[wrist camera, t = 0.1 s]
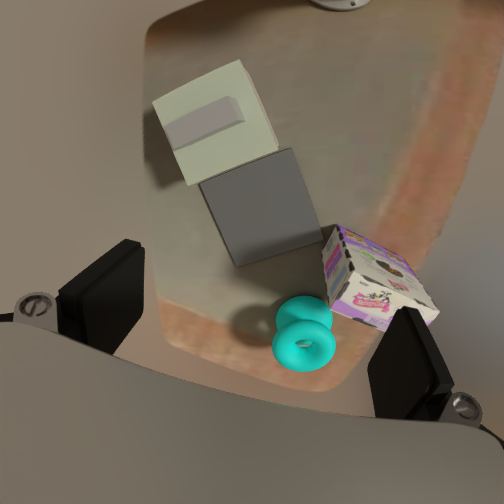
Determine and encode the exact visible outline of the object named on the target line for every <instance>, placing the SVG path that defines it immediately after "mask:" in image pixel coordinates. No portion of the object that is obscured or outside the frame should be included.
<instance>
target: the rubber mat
mask: <svg viewBox="0 0 504 504" xmlns="http://www.w3.org/2000/svg"><path fill="white" fill-rule="evenodd" d="M200 186H201V188H202V191H203V193H204V195H205V197H206V200H207V202H208V204H209V206H210V209H211V211H212V213H213V215H214V218H215V220H216V222H217V224H218V227H219V229H220V231H221V233H222V236H223V238H224V240H225V242H226V245H227V247H228V249H229V251H230V253H231V256H232V258H233V260H234V262H235V264H236V267H240V266H243V265H246V264H249V263H253V262H256V261H259V260H262V259H265V258H269V257H272V256H275V255H278V254H281V253H285V252H288V251H291V250H294V249H297V248H300V247H304V246H307V245H310V244H313V243H316V242H319V241H322V240H324V237H323V234H322V231H321V228H320V225H319V222H318V219H317V217H316V214H315V211H314V208H313V205H312V202H311V200H310V197H309V194H308V191H307V188H306V186H305V183H304V180H303V178H302V175H301V172H300V170H299V167H298V164H297V162H296V159H295V157H294V154H293V151H292V149H291V148H289V149H286V150H284V151H281V152H278V153H275V154H273V155H270V156H267V157H265V158H262V159H259V160H257V161H254V162H251V163H249V164H246V165H244V166H241V167H239V168H236V169H234V170H231V171H229V172H226V173H224V174H221V175H219V176H216V177H214V178H212V179H209V180H207V181H204V182H202V183H200Z"/></svg>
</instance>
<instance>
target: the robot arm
mask: <svg viewBox="0 0 504 504" xmlns="http://www.w3.org/2000/svg"><path fill="white" fill-rule="evenodd" d="M311 1H312V2H314V3H316V4H318V5H320V6H322V7H325V8H328V9H332V10H339V11H350V10H356V9H359V8H362V7H364V6H365V5H367V4H368V3H369V2H370V1H371V0H311ZM351 5H353V6H351ZM144 260H145V249H144V247H141V244H140V242H136V241H133V240H129V239H124V240H123V241H121V242H120V243H119V244H117V245H116V246H115V247H113V248H112V249H111V250H109V251H108V252H107V253H105V254H104V255H103V256H101V257H100V258H99V259H97V260H96V261H95V262H93V263H92V264H91V265H90V266H88V267H87V268H86V269H84V270H83V271H82V272H81V273H79V274H78V275H77V276H75V277H74V278H73V279H72V280H71V281H69V282H68V283H67V284H66V285H64V286H63V287H62V288H61V289H59V290H58V292H59V295H58V296H57V297H56V298H54V297H53V296H51V295H50V294H47V293H43V292H34V293H29V294H27V295H25V296H23V297H22V298H20V299H19V300H18V301H17V303H16V305H15V309H14V313H7V314H0V504H504V441H503V440H502V439H500V438H499V437H498V436H496V435H495V434H494V433H492V432H491V431H490V430H488V429H487V428H486V427H484V426H483V425H482V424H481V421H482V417H483V412H482V408H481V406H480V404H479V403H478V401H477V400H476V399H475V398H474V397H472V396H471V395H469V394H467V393H465V392H455V393H453V394H452V392H451V389H452V387H453V386H454V385H455V384H454V382H453V380H452V377H451V375H450V373H449V371H448V368H447V366H446V364H445V362H444V359H443V357H442V355H441V353H440V351H439V349H438V347H437V345H436V343H435V341H434V339H433V337H432V335H431V333H430V331H429V329H428V327H427V325H426V323H425V321H424V319H423V317H422V315H421V314H420V312H419V310H418V309H417V308H412V307H408V306H403V307H402V308H401V309H397V310H396V312H395V314H394V316H393V318H392V320H391V322H390V324H389V326H388V328H387V330H386V332H385V334H384V336H383V338H382V340H381V342H380V343H379V345H378V348H377V349H376V351H375V353H374V355H373V356H372V358H371V360H370V362H369V364H368V369H367V371H368V377H369V382H370V387H371V393H372V398H373V404H374V409H375V416H376V418H375V417H364V416H355V415H346V414H339V413H331V412H325V411H318V410H312V409H306V408H300V407H294V406H289V405H283V404H278V403H273V402H268V401H264V400H259V399H254V398H250V397H246V396H242V395H237V394H233V393H229V392H225V391H222V390H218V389H214V388H210V387H207V386H203V385H199V384H196V383H193V382H189V381H186V380H183V379H179V378H176V377H173V376H170V375H167V374H164V373H160V372H157V371H154V370H152V369H148V368H146V367H143V366H140V365H137V364H135V363H131V362H129V361H126V360H124V359H121V358H118V357H116V356H113V354H114V352H115V351H116V350H117V348H118V347H119V345H120V344H121V343H122V341H123V340H124V339H125V337H126V336H127V335H128V333H129V332H130V331H131V329H132V328H133V327H134V325H135V324H136V323H137V321H138V320H139V319H140V318H141V316H142V313H143V307H144Z"/></svg>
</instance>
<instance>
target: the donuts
mask: <svg viewBox="0 0 504 504" xmlns="http://www.w3.org/2000/svg"><path fill="white" fill-rule="evenodd" d="M332 322H333V318H332V313H331V310H329V307H328V306H327V305H326V304H325V303H324V302H323V301H322V300H320V299H318V298H316V297H312V296H297V297H294V298H291V299H289V300H288V301H286V302H285V303H284V304H283V305H282V306H281V307H280V308H279V310H278V312H277V315H276V327H277V330H278V331H277V333H276V334H275V336H274V338H273V341H272V351H273V354H274V357H275V358H276V360H277V361H278V362H279V363H280V364H281V365H282V366H284V367H286V368H288V369H290V370H293V371H298V372H307V371H313V370H316V369H319V368H321V367H323V366H324V365H325V364H327V363H328V362H329V361H330V359H331V358H332V356H333V354H334V352H335V347H336V343H335V338H334V336H333V334H332V332H331V331H330V329H331V327H332ZM296 344H298V345H310V344H311V345H310V346H308V347H300V346H298V345H296Z"/></svg>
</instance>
